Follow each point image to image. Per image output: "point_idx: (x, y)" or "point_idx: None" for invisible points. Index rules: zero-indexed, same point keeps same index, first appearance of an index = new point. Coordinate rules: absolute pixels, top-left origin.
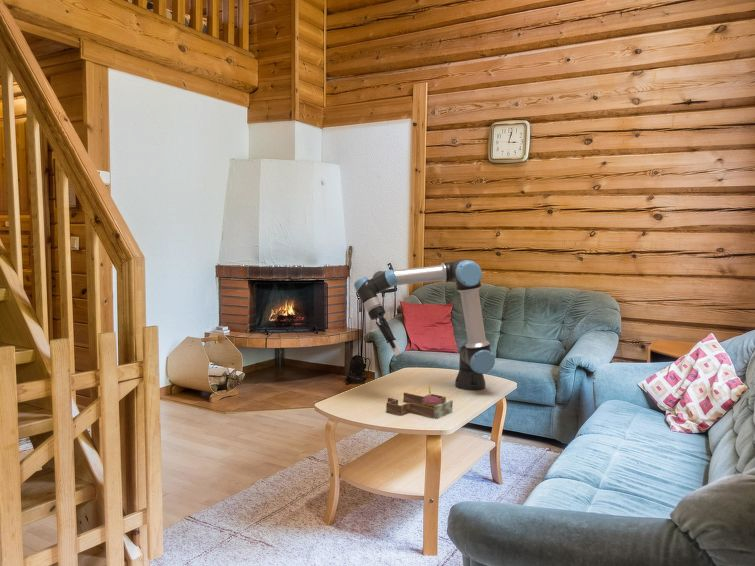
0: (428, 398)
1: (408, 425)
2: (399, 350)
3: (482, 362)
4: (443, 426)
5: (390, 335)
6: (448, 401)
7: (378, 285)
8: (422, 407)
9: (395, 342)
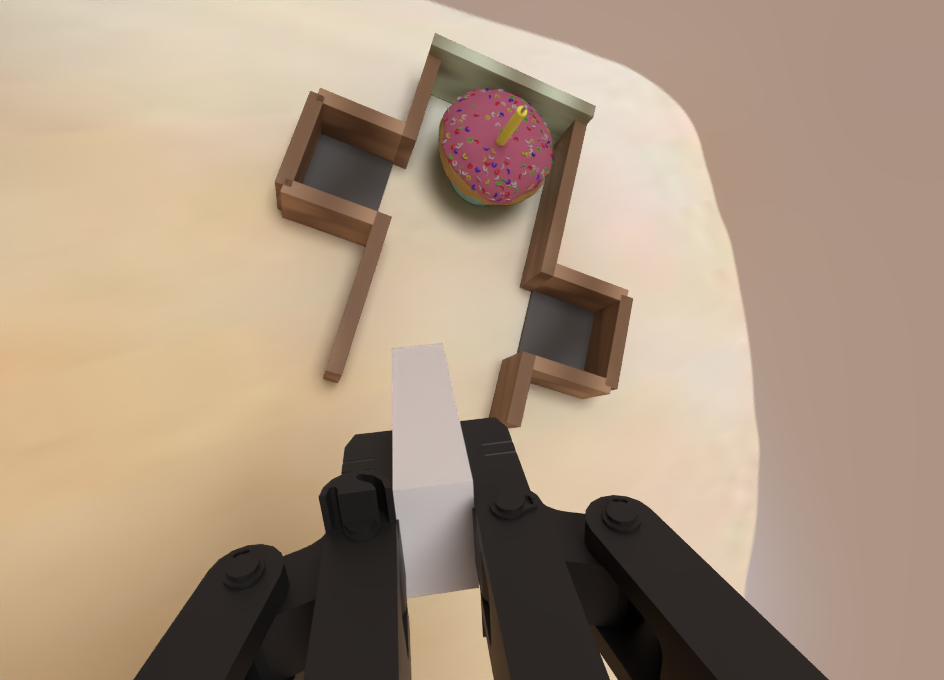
0: (536, 147)
1: (703, 235)
2: (428, 362)
3: None
4: (641, 97)
5: (570, 578)
6: (463, 54)
7: None
8: (570, 190)
9: (425, 449)
